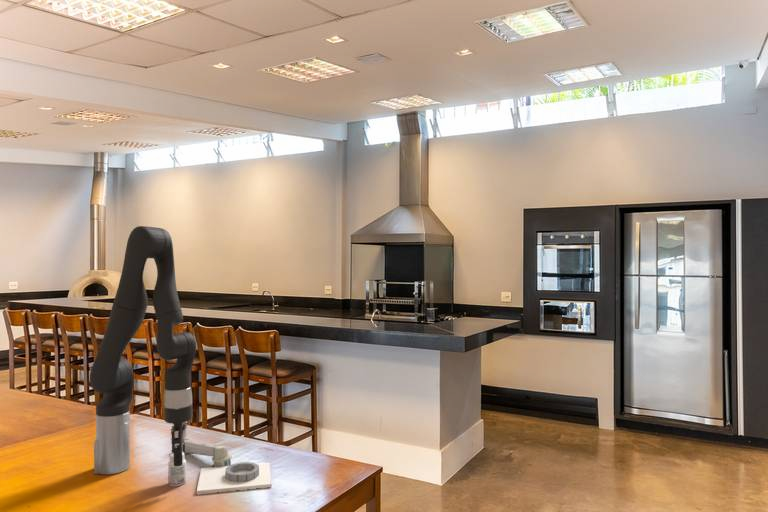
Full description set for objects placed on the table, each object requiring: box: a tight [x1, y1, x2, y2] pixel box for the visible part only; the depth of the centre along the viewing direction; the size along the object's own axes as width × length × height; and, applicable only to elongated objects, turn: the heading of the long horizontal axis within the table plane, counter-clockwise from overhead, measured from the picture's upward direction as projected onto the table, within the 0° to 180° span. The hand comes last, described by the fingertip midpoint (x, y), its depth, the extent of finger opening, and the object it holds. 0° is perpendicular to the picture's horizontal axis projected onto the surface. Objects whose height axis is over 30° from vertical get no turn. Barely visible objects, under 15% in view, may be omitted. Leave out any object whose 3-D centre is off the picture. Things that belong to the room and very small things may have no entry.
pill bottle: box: [167, 452, 187, 487], centre depth 161 cm, size 5×5×8 cm
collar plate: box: [196, 461, 273, 495], centre depth 164 cm, size 20×16×3 cm
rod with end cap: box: [175, 438, 233, 467], centre depth 180 cm, size 5×7×25 cm
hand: (179, 460), depth 162 cm, fingers open, 8 cm apart
